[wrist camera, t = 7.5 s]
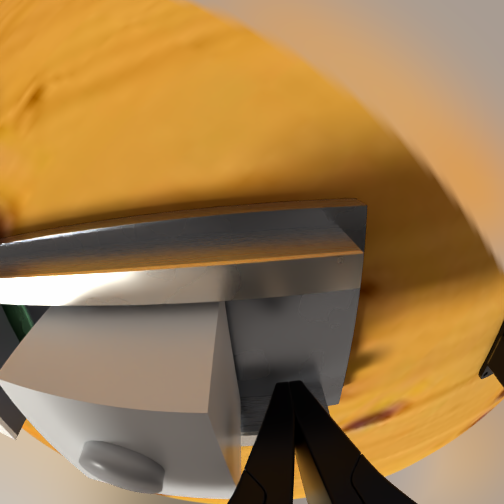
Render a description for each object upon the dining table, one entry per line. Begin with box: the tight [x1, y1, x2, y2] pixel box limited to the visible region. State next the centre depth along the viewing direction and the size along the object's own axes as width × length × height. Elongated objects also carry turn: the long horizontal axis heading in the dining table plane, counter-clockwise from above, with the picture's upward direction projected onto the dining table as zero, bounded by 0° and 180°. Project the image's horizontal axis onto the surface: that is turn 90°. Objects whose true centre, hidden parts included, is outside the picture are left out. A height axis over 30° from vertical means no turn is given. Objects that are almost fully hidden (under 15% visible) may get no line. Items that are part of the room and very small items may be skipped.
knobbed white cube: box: [0, 301, 241, 499], centre depth 8 cm, size 6×6×5 cm
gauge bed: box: [0, 198, 367, 446], centre depth 9 cm, size 24×10×6 cm, turn 94°
